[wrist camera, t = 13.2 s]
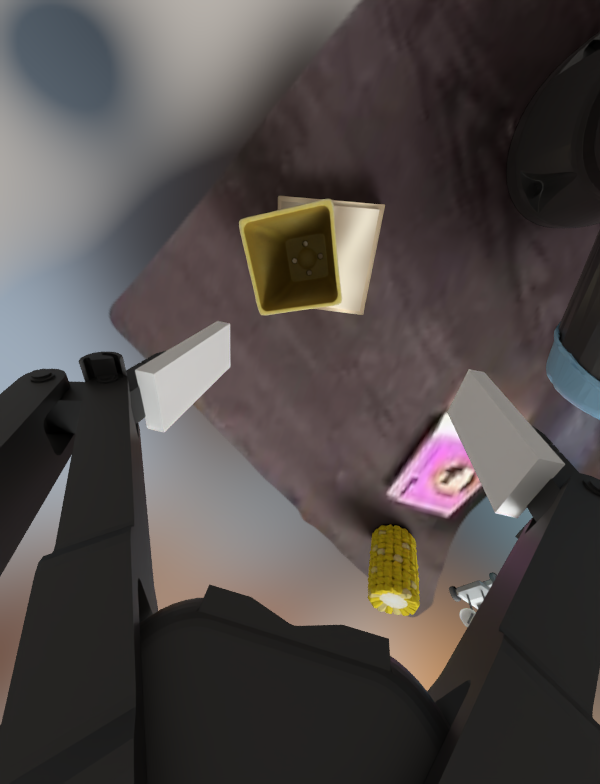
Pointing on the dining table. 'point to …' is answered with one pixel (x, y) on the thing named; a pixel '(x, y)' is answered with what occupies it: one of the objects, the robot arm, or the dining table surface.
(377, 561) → the food
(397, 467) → the dining table surface
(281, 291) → the flower pot
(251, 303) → the dining table surface
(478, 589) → the toy car
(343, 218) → the cream square block
